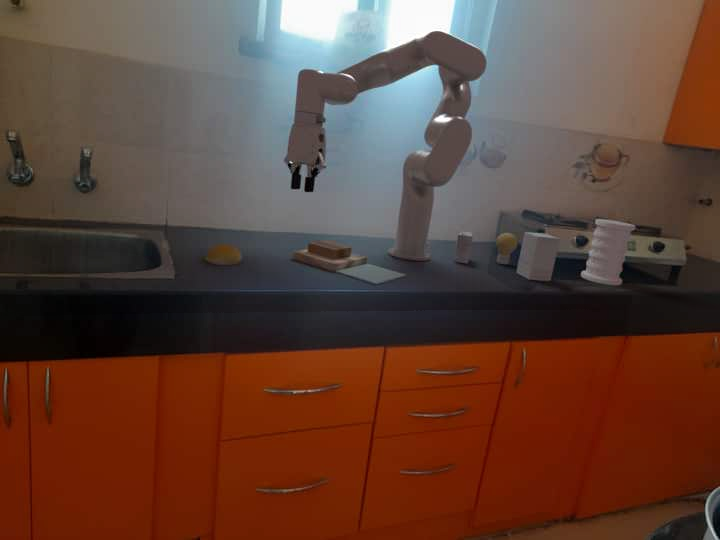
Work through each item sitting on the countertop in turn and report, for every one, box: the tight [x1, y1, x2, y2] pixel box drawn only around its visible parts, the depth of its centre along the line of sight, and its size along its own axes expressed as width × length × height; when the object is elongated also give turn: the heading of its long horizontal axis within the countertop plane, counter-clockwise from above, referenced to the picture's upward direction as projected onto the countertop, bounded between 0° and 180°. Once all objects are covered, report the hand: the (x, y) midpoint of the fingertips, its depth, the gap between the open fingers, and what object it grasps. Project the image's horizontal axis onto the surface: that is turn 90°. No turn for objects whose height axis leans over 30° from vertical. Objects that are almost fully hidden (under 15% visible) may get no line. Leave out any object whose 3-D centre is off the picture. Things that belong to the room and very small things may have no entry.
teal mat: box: [335, 263, 407, 286], centre depth 126 cm, size 14×12×1 cm
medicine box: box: [453, 230, 473, 265], centre depth 155 cm, size 8×4×9 cm, turn 168°
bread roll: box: [204, 243, 243, 266], centre depth 120 cm, size 8×9×4 cm
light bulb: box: [495, 232, 518, 266], centre depth 157 cm, size 6×6×10 cm
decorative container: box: [580, 218, 636, 286], centre depth 152 cm, size 12×12×18 cm
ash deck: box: [292, 248, 368, 273], centre depth 133 cm, size 14×14×2 cm
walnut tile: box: [307, 239, 352, 260], centre depth 132 cm, size 7×9×2 cm
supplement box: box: [515, 231, 561, 282], centre depth 144 cm, size 7×7×13 cm
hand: (302, 189), depth 135 cm, fingers open, 4 cm apart
